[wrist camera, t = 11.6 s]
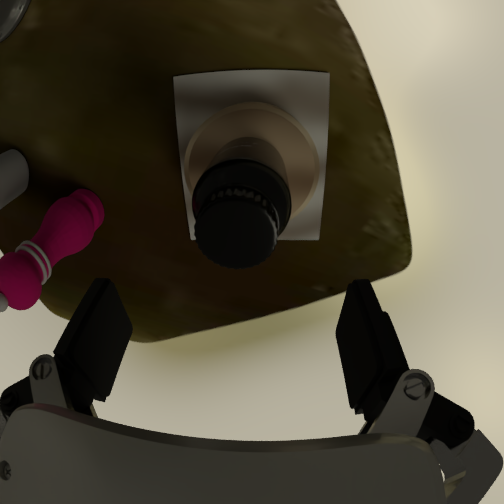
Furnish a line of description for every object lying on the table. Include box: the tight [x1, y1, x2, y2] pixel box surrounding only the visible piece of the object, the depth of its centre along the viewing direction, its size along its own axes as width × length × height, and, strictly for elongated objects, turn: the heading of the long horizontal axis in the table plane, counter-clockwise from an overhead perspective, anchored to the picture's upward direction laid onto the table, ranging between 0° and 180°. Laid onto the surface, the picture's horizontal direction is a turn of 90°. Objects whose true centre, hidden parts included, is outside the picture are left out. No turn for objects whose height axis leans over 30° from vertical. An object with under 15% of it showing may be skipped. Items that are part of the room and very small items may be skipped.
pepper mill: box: [0, 189, 104, 312], centre depth 24 cm, size 7×7×20 cm
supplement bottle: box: [192, 137, 292, 269], centre depth 20 cm, size 7×7×12 cm
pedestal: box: [173, 70, 329, 240], centre depth 27 cm, size 20×16×4 cm
